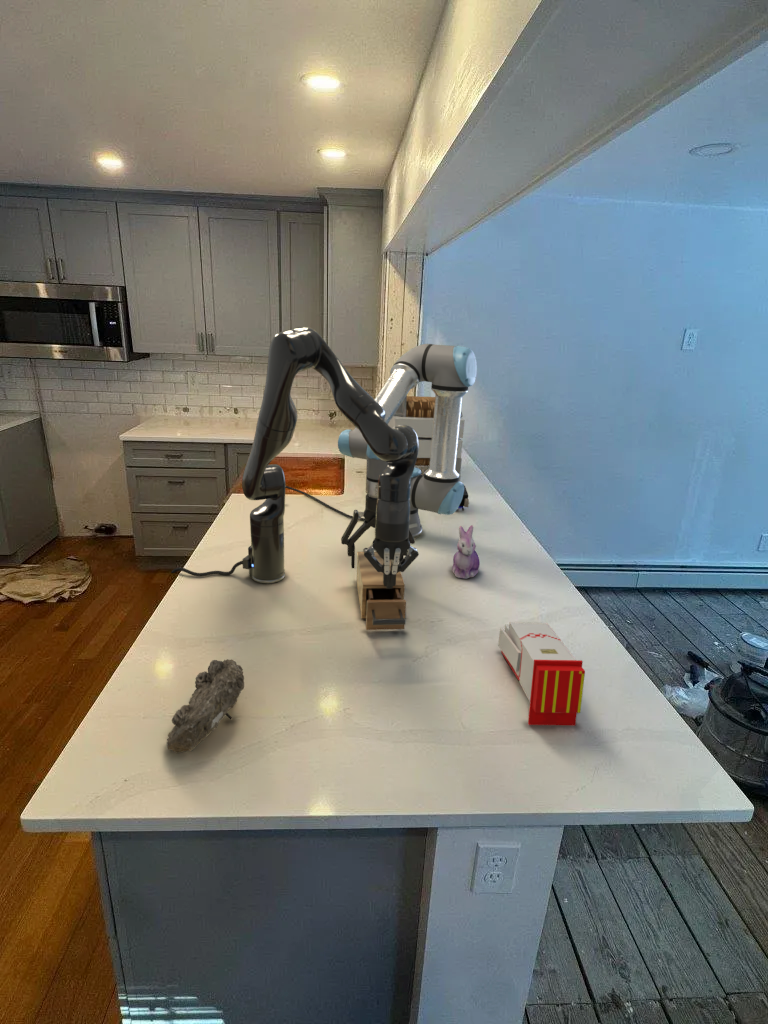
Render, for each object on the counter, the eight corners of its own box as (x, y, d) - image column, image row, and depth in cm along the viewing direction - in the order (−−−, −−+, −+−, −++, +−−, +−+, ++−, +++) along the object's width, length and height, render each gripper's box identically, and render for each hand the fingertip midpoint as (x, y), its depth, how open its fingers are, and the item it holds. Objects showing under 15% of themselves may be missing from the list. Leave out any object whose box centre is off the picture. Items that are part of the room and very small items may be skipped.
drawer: (407, 642, 133) (409, 614, 131) (368, 643, 132) (369, 614, 130) (394, 592, 157) (395, 567, 154) (360, 592, 156) (361, 567, 153)
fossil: (192, 660, 117) (244, 628, 112) (224, 691, 120) (276, 661, 115) (142, 746, 98) (202, 712, 93) (182, 779, 101) (242, 748, 96)
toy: (544, 607, 134) (594, 667, 105) (539, 659, 137) (586, 732, 108) (493, 606, 134) (529, 666, 105) (489, 658, 137) (523, 731, 107)
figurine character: (468, 516, 224) (463, 500, 237) (471, 498, 221) (465, 483, 234) (452, 515, 224) (447, 499, 237) (453, 498, 220) (449, 482, 234)
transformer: (382, 463, 289) (386, 382, 275) (445, 464, 293) (451, 384, 279) (390, 482, 257) (394, 392, 243) (460, 483, 261) (468, 394, 247)
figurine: (462, 582, 166) (466, 535, 161) (443, 568, 174) (447, 522, 169) (488, 576, 170) (493, 530, 165) (468, 563, 179) (472, 518, 173)
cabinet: (402, 617, 146) (404, 584, 143) (361, 618, 145) (362, 584, 141) (392, 581, 165) (394, 551, 162) (356, 582, 164) (357, 551, 160)
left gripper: (364, 522, 121) (361, 595, 126) (425, 522, 122) (420, 594, 128) (361, 510, 128) (359, 580, 133) (419, 511, 129) (414, 579, 135)
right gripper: (333, 498, 147) (332, 572, 154) (428, 498, 150) (423, 571, 157) (332, 489, 154) (332, 560, 161) (423, 490, 157) (418, 559, 164)
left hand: (389, 587), depth 131 cm, fingers closed
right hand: (377, 566), depth 159 cm, fingers open, 13 cm apart
